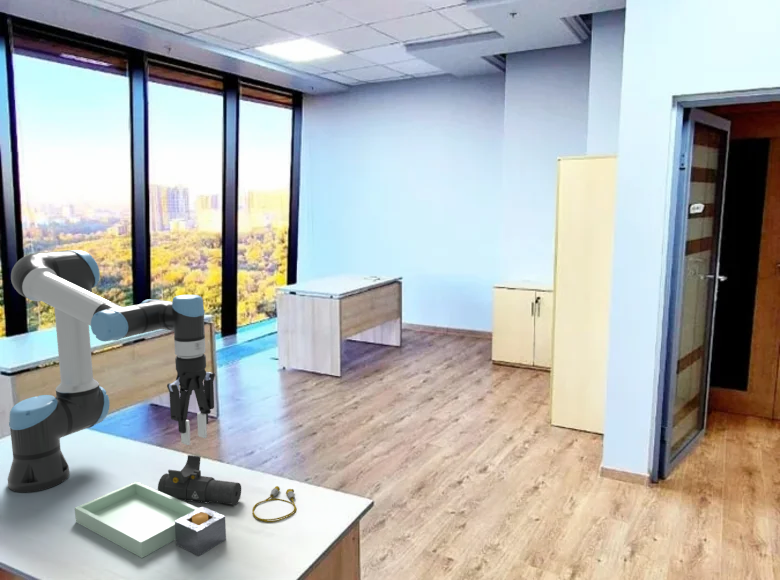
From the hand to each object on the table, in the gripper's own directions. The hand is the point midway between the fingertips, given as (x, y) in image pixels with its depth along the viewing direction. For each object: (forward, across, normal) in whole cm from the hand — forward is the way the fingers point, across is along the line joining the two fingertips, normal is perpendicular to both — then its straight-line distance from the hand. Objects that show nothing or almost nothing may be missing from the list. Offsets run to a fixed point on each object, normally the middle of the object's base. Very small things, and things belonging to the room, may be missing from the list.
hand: (194, 439), depth 157 cm
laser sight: (+17, 0, 0) cm, 17 cm away
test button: (+15, -13, -18) cm, 27 cm away
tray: (+17, -16, +2) cm, 23 cm away
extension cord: (+17, +9, -21) cm, 29 cm away
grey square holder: (+17, -13, -18) cm, 27 cm away
